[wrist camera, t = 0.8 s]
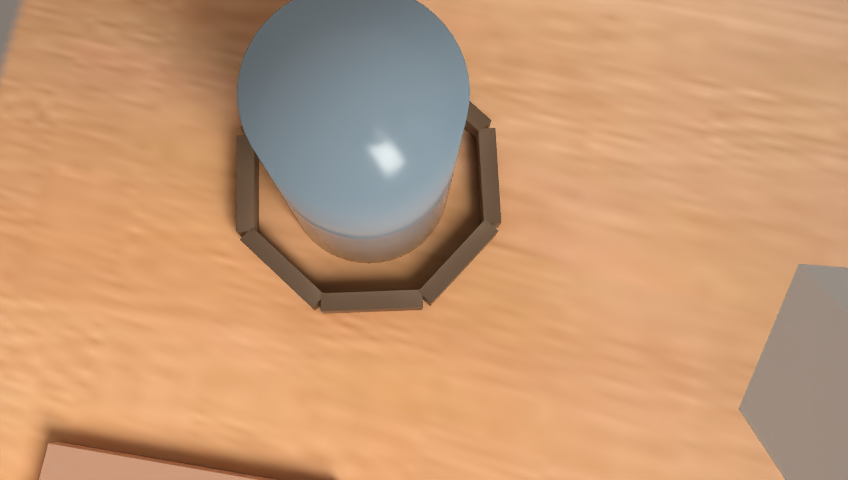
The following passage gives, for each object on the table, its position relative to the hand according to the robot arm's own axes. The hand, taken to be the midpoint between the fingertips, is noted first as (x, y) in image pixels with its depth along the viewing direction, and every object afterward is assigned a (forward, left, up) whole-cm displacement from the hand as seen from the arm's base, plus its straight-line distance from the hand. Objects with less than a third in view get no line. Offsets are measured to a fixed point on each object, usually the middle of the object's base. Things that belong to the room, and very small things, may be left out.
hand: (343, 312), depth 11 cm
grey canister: (+7, -6, -25) cm, 27 cm away
